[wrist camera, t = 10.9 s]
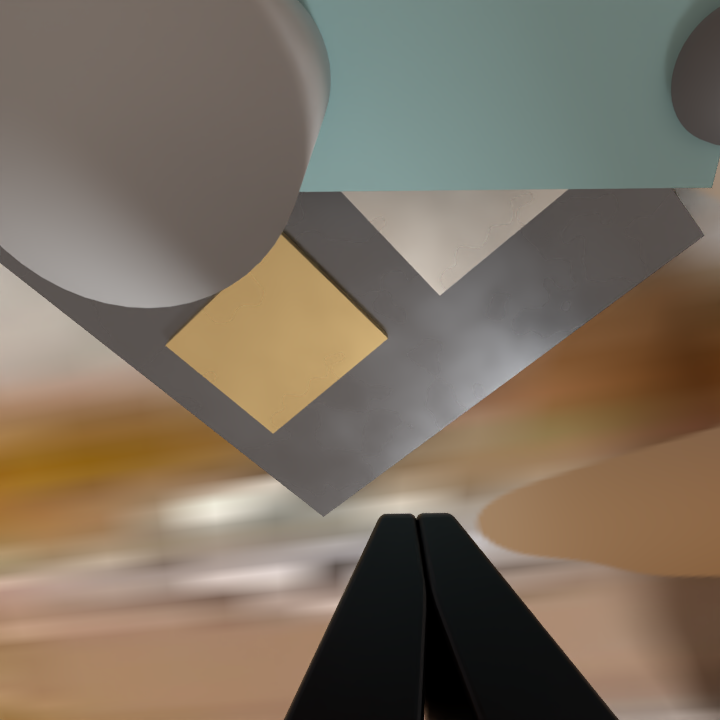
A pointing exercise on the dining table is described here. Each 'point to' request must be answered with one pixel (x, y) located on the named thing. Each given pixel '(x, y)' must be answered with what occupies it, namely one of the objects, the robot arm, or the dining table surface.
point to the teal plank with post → (322, 119)
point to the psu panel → (385, 318)
